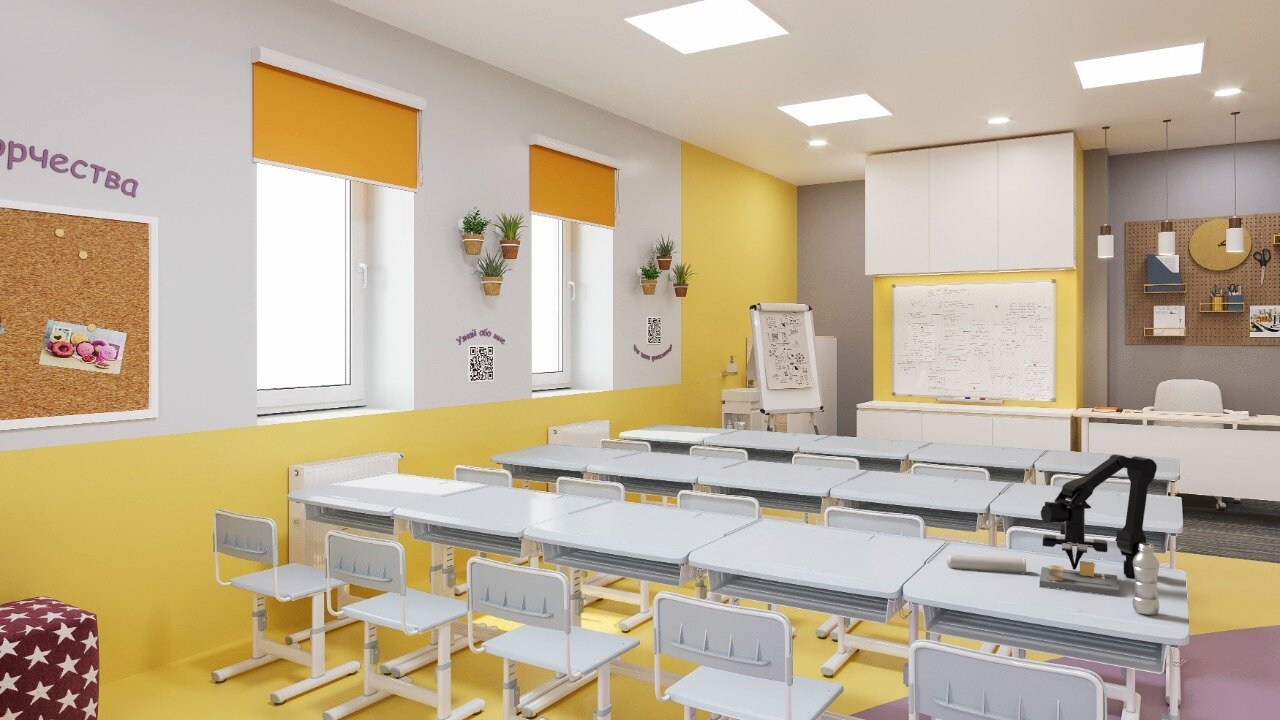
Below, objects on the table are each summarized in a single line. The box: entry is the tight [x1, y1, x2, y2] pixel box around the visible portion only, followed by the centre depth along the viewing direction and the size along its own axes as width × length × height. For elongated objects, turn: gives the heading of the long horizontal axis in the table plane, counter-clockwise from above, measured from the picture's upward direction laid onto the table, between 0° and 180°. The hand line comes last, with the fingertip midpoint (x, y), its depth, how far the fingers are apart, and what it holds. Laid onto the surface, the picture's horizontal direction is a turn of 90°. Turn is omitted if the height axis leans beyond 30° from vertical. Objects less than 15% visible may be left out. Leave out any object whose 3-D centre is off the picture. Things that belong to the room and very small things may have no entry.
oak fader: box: [1048, 564, 1064, 581], centre depth 267 cm, size 4×5×4 cm
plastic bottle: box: [1132, 542, 1161, 616], centre depth 239 cm, size 6×7×20 cm
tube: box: [946, 553, 1027, 575], centre depth 285 cm, size 5×5×25 cm
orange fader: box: [1079, 560, 1095, 577], centre depth 271 cm, size 4×5×4 cm
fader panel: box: [1039, 566, 1120, 597], centre depth 268 cm, size 22×18×2 cm
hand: (1074, 569), depth 273 cm, fingers closed
